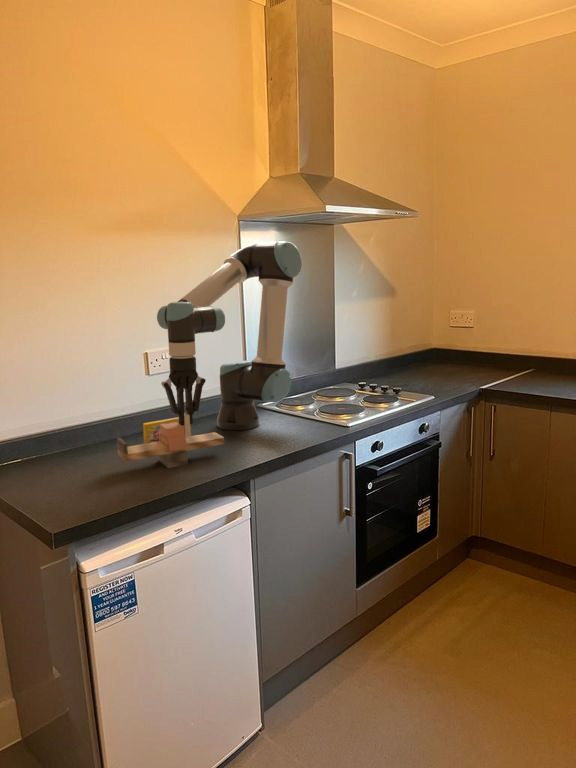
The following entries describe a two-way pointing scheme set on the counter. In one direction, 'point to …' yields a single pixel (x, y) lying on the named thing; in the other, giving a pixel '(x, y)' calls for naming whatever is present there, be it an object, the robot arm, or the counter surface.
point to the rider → (173, 436)
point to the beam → (163, 451)
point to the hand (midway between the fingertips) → (186, 435)
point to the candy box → (156, 429)
